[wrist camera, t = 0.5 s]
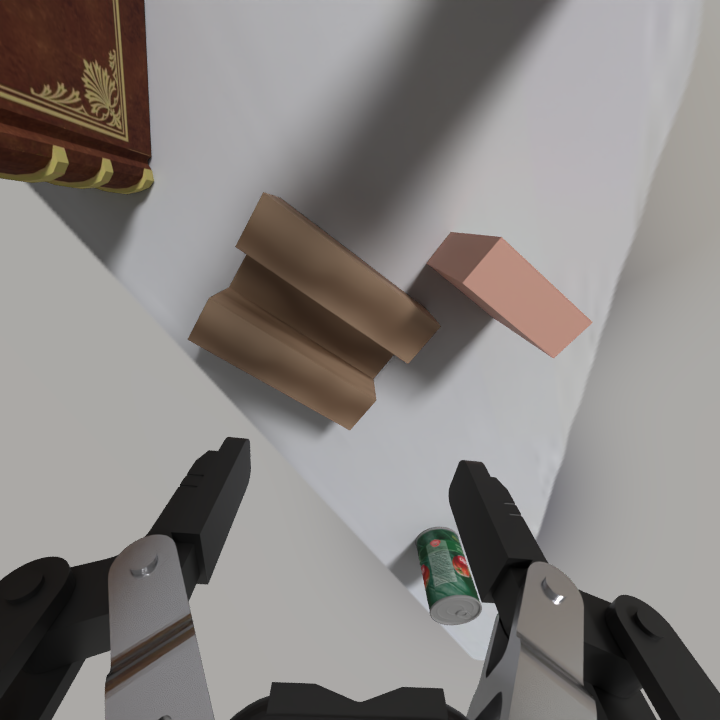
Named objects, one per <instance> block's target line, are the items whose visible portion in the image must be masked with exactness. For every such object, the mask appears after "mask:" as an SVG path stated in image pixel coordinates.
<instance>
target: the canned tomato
mask: <svg viewBox="0 0 720 720" xmlns="http://www.w3.org/2000/svg"><path fill="white" fill-rule="evenodd" d="M416 546H417V550H418V556H419V560H420V565H421V570H422V575H423V580H424V585H425V590H426V595H427V600H428V604H429V609H430V616H431V618H432V619H433V620H434V621H436V622H438V623H440V624H444V625H459V624H464V623H467V622H470V621H472V620H474V619H475V618H477V617H478V616H479V614H480V613H481V610H482V606H481V604H480V601H479V598H478V595H477V592H476V589H475V586H474V583H473V580H472V577H471V574H470V571H469V569H468V565H467V563H466V560H465V557H464V554H463V551H462V548H461V545H460V542H459V539H458V536H457V534H456V533H455V532H454V531H453V530H451V529H449V528H445V527H434V528H430V529H427V530H425V531H424V532H422V533H421V534H420V535H419V536H418V537H417V539H416Z"/></svg>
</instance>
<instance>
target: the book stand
mask: <svg viewBox="0 0 720 720" xmlns="http://www.w3.org/2000/svg"><path fill="white" fill-rule="evenodd" d="M235 247H236V248H238V249H239V250H241V251H242V252H244V253H245V254H247V255H246V256H245V258H244V260H243V262H242V264H241V266H240V268H239V270H238V271H237V273H236V275H235V277H234V279H233V281H232V283H231V285H230V286H229V288H227V289H225V290H223V291H221V292H219V293H217V294H215V295H214V296H212V297H210V298H209V299H208V301H207V303H206V305H205V307H204V309H203V311H202V313H201V314H200V316H199V318H198V320H197V322H196V324H195V326H194V328H193V330H192V332H191V334H190V336H189V338H188V340H189V341H191V342H193V343H195V344H196V345H198V346H200V347H202V348H204V349H205V350H207V351H209V352H211V353H212V354H214V355H216V356H218V357H220V358H221V359H223V360H225V361H227V362H229V363H230V364H232V365H234V366H236V367H237V368H239V369H241V370H243V371H245V372H246V373H248V374H250V375H252V376H254V377H255V378H257V379H259V380H261V381H262V382H264V383H266V384H268V385H270V386H271V387H273V388H275V389H277V390H279V391H280V392H282V393H284V394H286V395H287V396H289V397H291V398H293V399H295V400H296V401H298V402H300V403H302V404H304V405H305V406H307V407H309V408H311V409H313V410H314V411H316V412H318V413H320V414H321V415H323V416H325V417H327V418H329V419H330V420H332V421H334V422H336V423H338V424H339V425H341V426H343V427H345V428H346V429H348V430H351V429H352V427H353V426H354V425H355V424H356V423H357V422H358V421H359V419H360V418H361V417H362V416H363V415H364V414H365V413H366V411H367V410H368V409H369V408H370V407H371V406H372V405H373V403H374V402H375V401H376V394H375V387H374V378H375V376H376V375H377V374H378V373H379V372H380V370H381V369H382V368H383V367H384V366H385V364H386V363H387V362H388V361H389V360H390V359H391V357H392V356H393V355H396V356H397V357H398V358H400V359H401V360H403V361H404V362H406V363H407V364H408V363H409V362H410V361H411V360H412V359H413V358H414V357H415V355H416V354H417V353H418V352H419V351H420V350H421V349H422V347H423V346H424V345H425V344H426V343H427V342H428V341H429V339H430V338H431V337H432V336H433V335H434V334H435V333H436V331H437V330H438V329H439V328H440V327H441V326H440V324H439V323H438V322H437V321H436V320H435V319H434V317H433V316H432V315H431V314H430V313H429V311H428V310H427V309H426V308H424V307H423V306H422V305H421V304H419V303H418V302H417V301H415V300H414V299H413V298H411V297H410V296H409V295H407V294H406V293H405V292H403V291H402V290H401V289H400V288H398V287H397V286H396V285H394V284H393V283H392V282H390V281H389V280H388V279H386V278H385V277H384V276H382V275H381V274H380V273H378V272H377V271H376V270H375V269H373V268H372V267H371V266H369V265H368V264H367V263H365V262H364V261H363V260H361V259H360V258H359V257H357V256H356V255H355V254H354V253H352V252H351V251H350V250H348V249H347V248H346V247H344V246H343V245H342V244H340V243H339V242H338V241H336V240H335V239H334V238H333V237H331V236H330V235H329V234H327V233H326V232H325V231H323V230H322V229H321V228H319V227H318V226H317V225H315V224H314V223H313V222H312V221H310V220H309V219H308V218H306V217H305V216H304V215H302V214H301V213H300V212H298V211H297V210H296V209H294V208H293V207H292V206H291V205H289V204H288V203H287V202H285V201H284V200H283V199H281V198H279V197H276V196H273V195H270V194H267V193H264V192H263V194H262V196H261V198H260V200H259V202H258V204H257V206H256V208H255V210H254V211H253V213H252V215H251V217H250V219H249V221H248V223H247V225H246V227H245V229H244V231H243V233H242V235H241V237H240V239H239V241H238V243H237V245H236V246H235Z"/></svg>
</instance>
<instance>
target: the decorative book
mask: <svg viewBox="0 0 720 720" xmlns="http://www.w3.org/2000/svg"><path fill="white" fill-rule="evenodd" d="M150 157H151V142H150V120H149V98H148V77H147V55H146V33H145V12H144V0H0V178H3V179H9V180H16V181H23V182H31V183H34V182H48V183H51V184H54V185H59V186H66V187H72V188H80V189H85V188H97V189H100V190H102V191H107V192H114V193H121V194H131V193H135V192H140V191H142V190H144V189H147V188H149V187H150V186H151V184H152V183H153V182H154V179H153V174H152V170H151V168H150V167H149V165H148V159H149V158H150Z"/></svg>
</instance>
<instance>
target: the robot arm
mask: <svg viewBox="0 0 720 720" xmlns="http://www.w3.org/2000/svg"><path fill="white" fill-rule="evenodd" d="M250 472H251V462H250V441H249V439H244V438H233V437H227V438H226V439H225V440H224V442H223V444H222V446H221V447H220V449H219V451H210V450H209V451H207V452H206V453H205V454H204V455H202V456H201V457H200V458H199V459H197V460H196V461H195V463H194V464H193V466H192V467H191V469H190V470H189V472H188V474H187V476H186V477H185V478H184V479H183V481H182V482H181V484H180V487H178V489H177V490H176V492H175V493H174V495H173V496H172V498H171V499H170V501H169V503H168V504H167V505H166V507H165V509H164V510H163V512H162V513H161V515H160V516H159V518H158V519H157V521H156V522H155V524H154V525H153V527H152V529H151V530H150V531H149V532H148V534H147V535H146V536H145V537H144V538H141V539H139V540H137V541H135V542H133V543H132V544H130V545H129V546H128V547H126V548H125V549H124V550H123V551H122V552H121V553H120V554H119V555H117V556H115V557H111V558H108V559H104V560H100V561H96V562H92V563H88V564H83V565H79V566H74V567H69V564H68V563H67V561H66V560H64V559H63V558H59V557H45V558H41V559H37V560H34V561H32V562H29V563H27V564H25V565H23V566H21V567H19V568H17V569H16V570H14V571H13V572H11V573H10V574H8V575H7V576H5V577H4V578H3V579H2V580H1V581H0V720H52V718H53V716H54V714H55V712H56V711H57V709H58V707H59V705H60V704H61V702H62V700H63V698H64V696H65V695H66V693H67V691H68V689H69V688H70V686H71V684H72V682H73V680H74V679H75V677H76V675H77V673H78V672H79V670H80V668H81V666H82V664H83V662H84V661H85V659H86V658H89V657H91V656H95V655H97V654H101V653H104V652H107V651H110V650H111V669H110V673H109V674H108V675H107V677H106V683H105V720H214V715H213V710H212V706H211V701H210V697H209V692H208V688H207V683H206V679H205V674H204V670H203V666H202V661H201V657H200V652H199V647H198V643H197V638H196V634H195V630H194V625H193V620H192V616H191V612H190V607H189V599H190V597H191V595H192V592H193V590H194V588H195V585H196V584H208V583H209V580H210V578H211V576H212V573H213V570H214V568H215V566H216V563H217V561H218V558H219V556H220V553H221V551H222V548H223V545H224V543H225V541H226V538H227V536H228V533H229V531H230V528H231V526H232V523H233V521H234V518H235V516H236V513H237V511H238V508H239V506H240V503H241V501H242V498H243V496H244V493H245V491H246V488H247V486H248V483H249V478H250ZM449 503H450V506H451V509H452V512H453V516H454V519H455V522H456V525H457V528H458V531H459V534H460V537H461V540H462V543H463V546H464V549H465V552H466V555H467V558H468V562H469V565H470V568H471V571H472V574H473V577H474V580H475V583H476V586H477V589H478V592H479V595H480V598H481V601H482V602H485V603H495V605H496V607H497V610H498V614H497V616H496V618H495V622H494V626H493V630H492V634H491V638H490V642H489V646H488V650H487V654H486V658H485V662H484V667H483V670H482V674H481V678H480V681H479V684H478V687H477V690H476V692H475V694H474V696H473V699H472V701H471V704H470V707H469V710H468V713H467V716H466V717H465V716H464V715H463V714H462V713H461V712H459V711H457V710H456V709H454V708H453V707H451V706H449V705H447V704H446V702H445V697H444V692H443V689H441V688H413V687H401V688H399V689H396V690H393V691H390V692H388V693H385V694H382V695H380V696H377V697H374V698H372V699H369V700H366V701H363V702H357V701H354V700H351V699H349V698H347V697H345V696H342V695H340V694H337V693H335V692H333V691H331V690H328V689H326V688H324V687H322V686H319V685H317V684H305V683H280V682H279V683H278V682H272V685H271V691H270V696H268V697H265V698H262V699H259V700H257V701H255V702H253V703H252V704H250V705H248V706H247V707H245V708H244V709H243V710H241V711H240V712H238V713H237V714H236V715H235V716H233V717H232V718H231V719H230V720H657V719H656V718H655V716H654V714H653V712H652V710H651V709H650V707H649V705H648V703H647V701H646V700H645V698H644V696H643V694H642V693H641V691H640V690H641V689H642V688H643V689H644V691H645V692H646V694H647V696H648V698H649V699H650V701H651V703H652V705H653V706H654V708H655V710H656V712H657V713H658V715H659V717H660V718H661V720H720V693H719V692H718V690H717V689H716V687H715V686H714V685H713V683H712V682H711V680H710V679H709V678H708V677H707V675H706V674H705V672H704V671H703V669H702V668H701V667H700V665H699V664H698V663H697V661H696V660H695V658H694V657H693V656H692V654H691V653H690V652H689V650H688V649H687V647H686V646H685V645H684V644H683V642H682V641H681V639H680V638H679V637H678V635H677V634H676V632H675V631H674V630H673V628H672V627H671V626H670V624H669V623H668V622H667V621H666V620H665V619H664V618H663V617H662V616H661V615H660V614H659V613H658V612H657V611H656V610H654V609H653V608H652V607H651V606H649V605H648V604H646V603H645V602H643V601H641V600H639V599H637V598H635V597H632V596H629V595H621V596H619V597H617V598H616V599H615V600H614V601H613V602H612V603H610V602H608V601H605V600H603V599H600V598H598V597H595V596H592V595H590V594H588V593H585V592H583V591H581V590H578V589H577V587H576V586H575V584H574V583H573V582H572V581H571V580H570V578H569V577H568V576H567V575H566V574H564V573H563V572H562V571H560V570H559V569H558V568H556V567H555V566H553V565H551V564H549V563H548V562H547V560H546V559H545V557H544V555H543V553H542V551H541V550H540V548H539V546H538V544H537V542H536V540H535V539H534V537H533V535H532V533H531V531H530V530H529V528H528V526H527V524H526V522H525V521H524V519H523V517H521V513H520V512H519V510H518V508H517V506H516V505H515V502H514V501H513V499H512V497H511V495H510V493H509V492H508V490H507V489H506V488H505V487H504V486H503V485H502V484H501V482H500V481H499V480H498V479H497V478H495V477H490V475H489V473H488V471H487V469H486V467H485V465H484V464H483V463H482V462H476V461H466V460H461V461H460V462H459V464H458V467H457V469H456V472H455V475H454V477H453V480H452V482H451V485H450V488H449Z"/></svg>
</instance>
